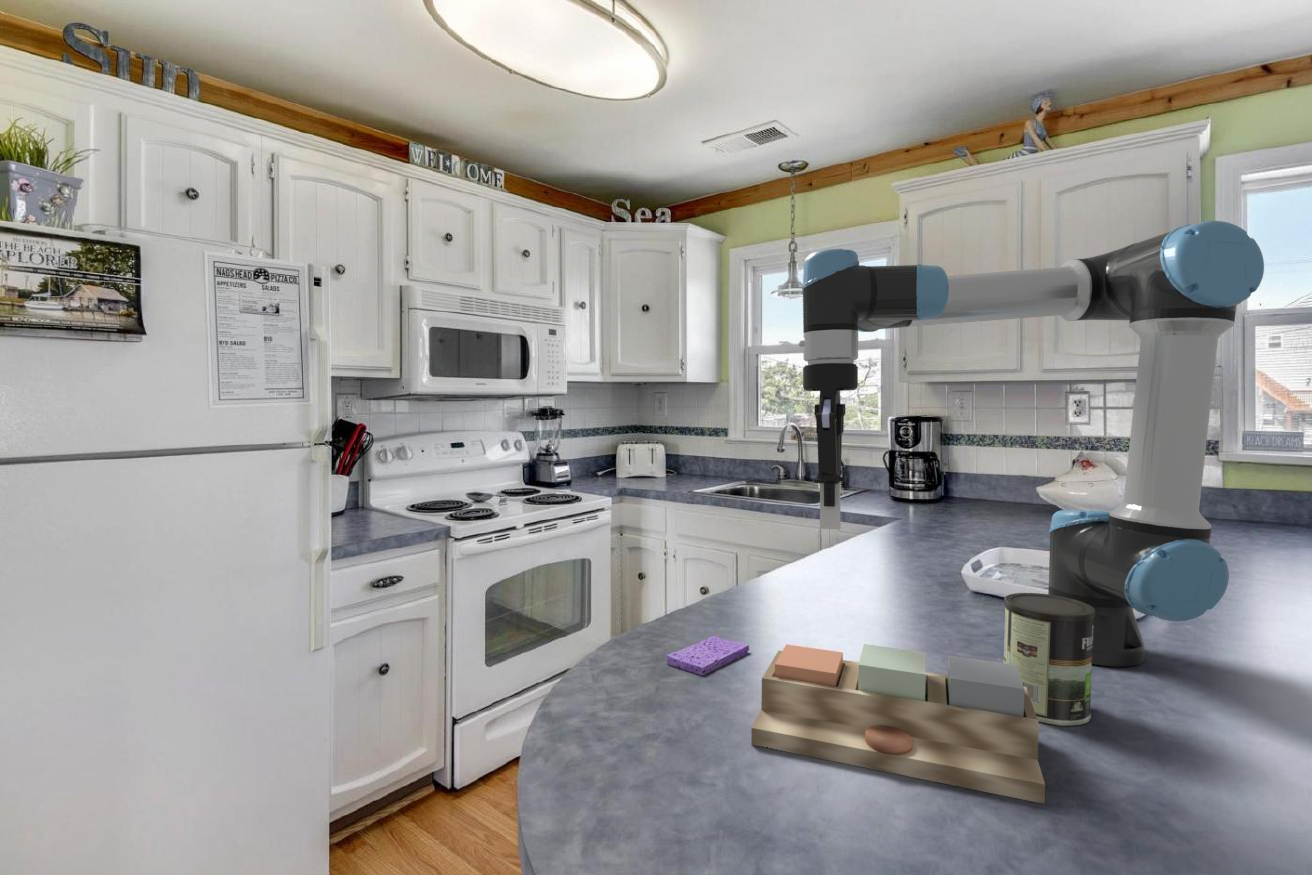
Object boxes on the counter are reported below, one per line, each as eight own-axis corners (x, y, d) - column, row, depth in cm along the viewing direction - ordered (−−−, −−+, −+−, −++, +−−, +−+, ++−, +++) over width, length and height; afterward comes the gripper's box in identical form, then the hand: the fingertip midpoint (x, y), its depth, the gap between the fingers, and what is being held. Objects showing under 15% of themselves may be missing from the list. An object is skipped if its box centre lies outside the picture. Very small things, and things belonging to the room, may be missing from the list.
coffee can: (1089, 702, 90) (1094, 599, 89) (1091, 734, 81) (1096, 620, 81) (1004, 685, 95) (1007, 587, 95) (997, 713, 87) (1000, 606, 86)
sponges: (665, 666, 102) (665, 654, 102) (714, 644, 112) (714, 633, 112) (702, 679, 98) (702, 667, 98) (749, 655, 107) (749, 644, 107)
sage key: (924, 691, 84) (925, 652, 83) (924, 717, 77) (925, 674, 77) (863, 681, 86) (864, 643, 86) (857, 705, 80) (858, 664, 79)
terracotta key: (842, 689, 88) (842, 652, 87) (834, 714, 81) (835, 673, 80) (785, 680, 90) (786, 644, 90) (774, 703, 83) (774, 663, 83)
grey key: (1014, 705, 80) (1016, 664, 80) (1022, 733, 73) (1024, 689, 73) (947, 695, 83) (948, 655, 82) (949, 721, 76) (950, 678, 76)
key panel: (1024, 735, 81) (1026, 686, 81) (1044, 803, 67) (1046, 745, 67) (777, 693, 92) (778, 650, 92) (751, 744, 78) (752, 694, 78)
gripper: (809, 366, 102) (809, 519, 103) (796, 361, 90) (796, 535, 91) (860, 364, 99) (860, 521, 101) (854, 359, 87) (854, 538, 88)
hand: (830, 527), depth 96 cm, fingers closed
